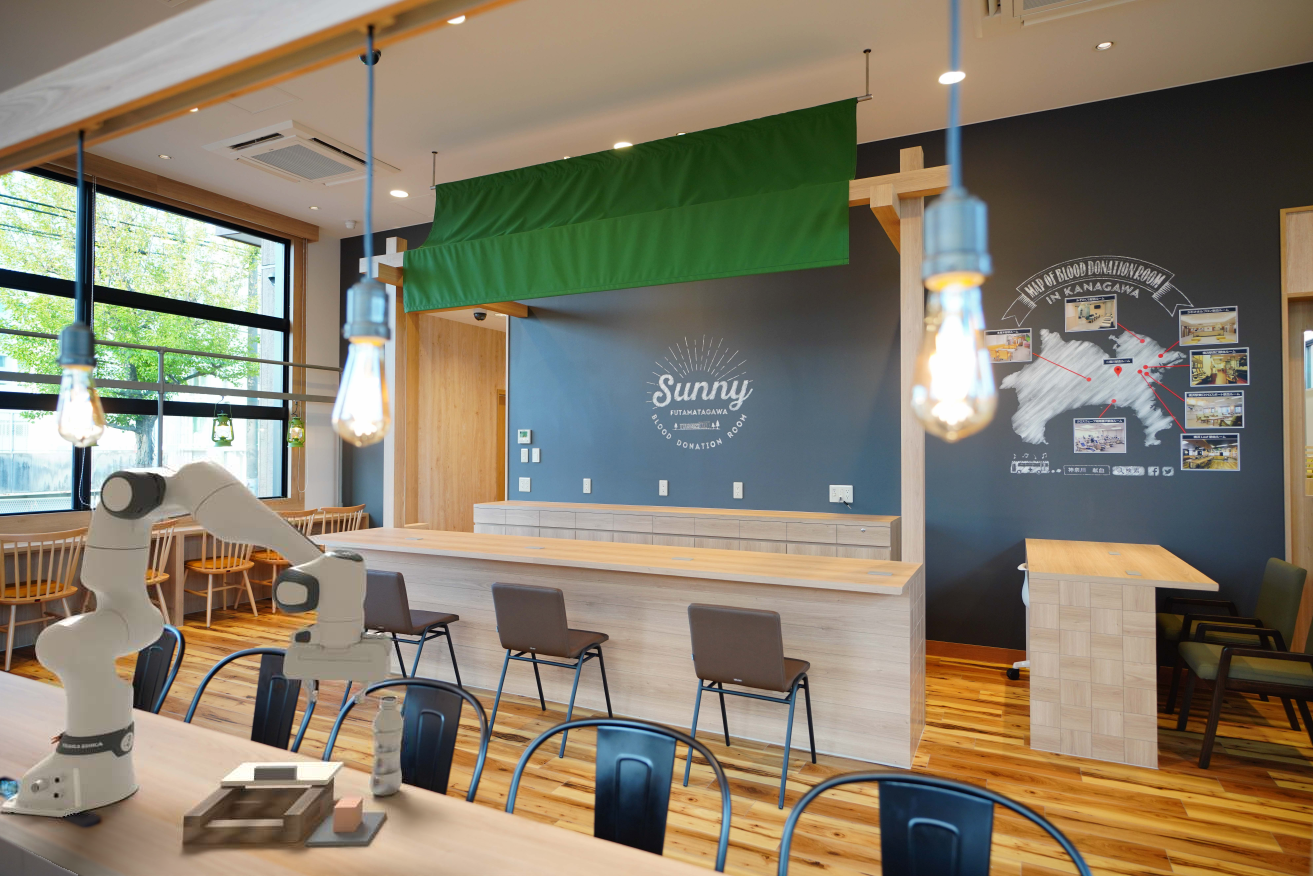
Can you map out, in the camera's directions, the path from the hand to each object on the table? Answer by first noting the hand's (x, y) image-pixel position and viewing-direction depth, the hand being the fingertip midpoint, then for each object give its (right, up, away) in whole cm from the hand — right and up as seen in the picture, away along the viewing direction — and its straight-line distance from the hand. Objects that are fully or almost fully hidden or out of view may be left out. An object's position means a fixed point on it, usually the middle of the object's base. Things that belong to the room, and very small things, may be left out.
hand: (335, 701), depth 141 cm
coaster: (+5, -23, -5) cm, 24 cm away
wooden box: (-13, -23, -2) cm, 26 cm away
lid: (-14, -18, +6) cm, 23 cm away
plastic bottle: (+6, -24, +11) cm, 27 cm away
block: (+5, -22, -5) cm, 23 cm away
